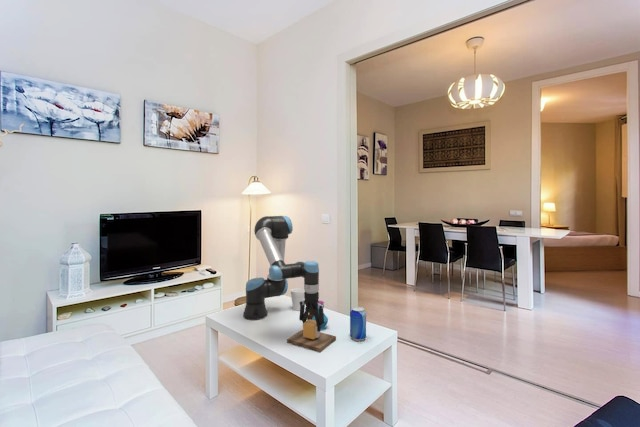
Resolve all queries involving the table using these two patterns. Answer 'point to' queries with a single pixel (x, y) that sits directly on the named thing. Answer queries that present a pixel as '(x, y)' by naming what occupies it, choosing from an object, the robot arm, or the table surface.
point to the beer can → (358, 324)
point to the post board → (312, 341)
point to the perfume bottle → (324, 317)
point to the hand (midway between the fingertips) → (311, 335)
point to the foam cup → (297, 298)
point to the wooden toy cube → (309, 329)
